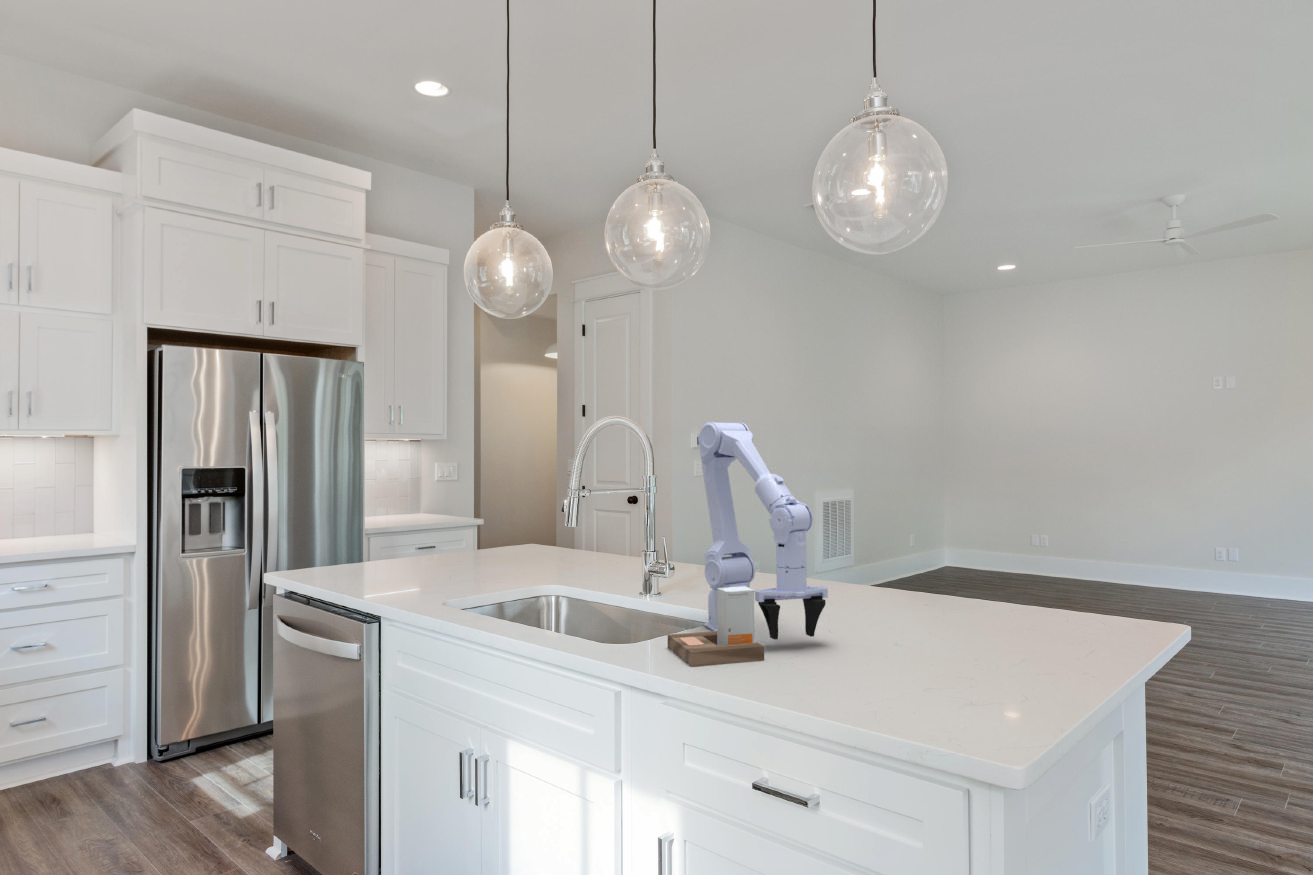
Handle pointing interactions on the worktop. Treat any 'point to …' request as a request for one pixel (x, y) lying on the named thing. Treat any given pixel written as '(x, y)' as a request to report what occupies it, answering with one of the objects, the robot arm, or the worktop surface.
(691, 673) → the worktop surface
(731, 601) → the skincare box
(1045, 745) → the worktop surface
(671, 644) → the rack board
